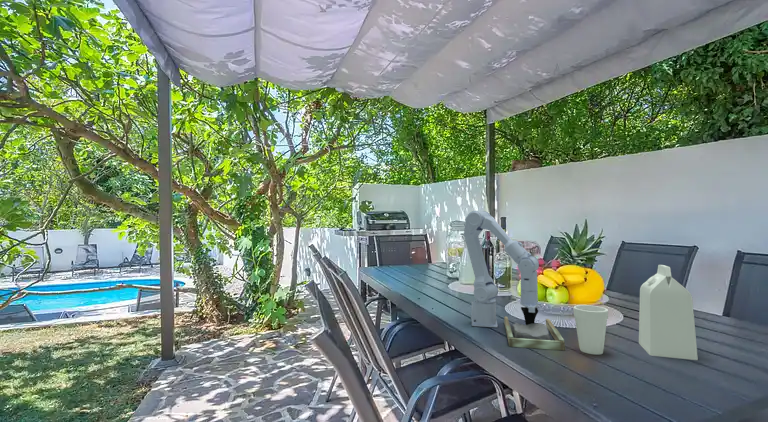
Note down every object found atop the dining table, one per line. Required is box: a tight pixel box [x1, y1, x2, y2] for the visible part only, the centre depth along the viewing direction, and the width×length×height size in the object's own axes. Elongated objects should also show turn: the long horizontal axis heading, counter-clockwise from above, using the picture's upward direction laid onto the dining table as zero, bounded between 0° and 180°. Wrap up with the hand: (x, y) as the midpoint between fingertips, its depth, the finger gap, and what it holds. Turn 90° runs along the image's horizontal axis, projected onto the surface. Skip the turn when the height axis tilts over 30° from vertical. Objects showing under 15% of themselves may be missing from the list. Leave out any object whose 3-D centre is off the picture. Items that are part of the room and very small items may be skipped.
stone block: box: [511, 322, 551, 340], centre depth 131 cm, size 12×5×10 cm
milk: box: [638, 264, 698, 361], centre depth 116 cm, size 12×12×26 cm
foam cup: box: [573, 304, 609, 356], centre depth 117 cm, size 10×9×13 cm
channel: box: [503, 316, 566, 351], centre depth 133 cm, size 17×28×3 cm, turn 165°
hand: (529, 328), depth 137 cm, fingers closed
